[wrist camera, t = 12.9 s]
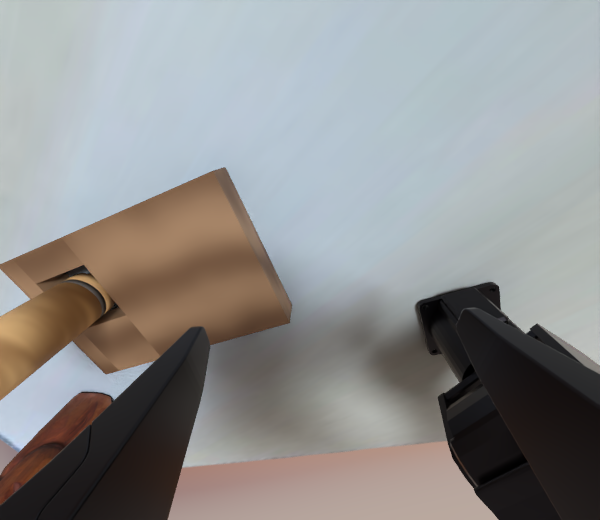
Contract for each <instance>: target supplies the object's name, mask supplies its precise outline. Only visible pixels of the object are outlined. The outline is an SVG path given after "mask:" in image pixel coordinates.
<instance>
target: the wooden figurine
mask: <svg viewBox="0 0 600 520" xmlns="http://www.w3.org/2000/svg"><path fill="white" fill-rule="evenodd" d="M111 403H112V401H111V397H110V396H107V395H104V394H101V393H79V394H78V395H76V396H75V397H74V398H73V399H71V400H70V401H69V402H68V403H67V404H66V405H65V406H64V407H63V408H62V409H61V410H60V411H59V412H58V413H57V414H56V415H55V416H54V417H53V418H52V419H51V420H50V421H49V422H48V423H47V424H46V425H45V426H44V427H43V428H42V429H41V430H40V431H39V432H38V433H37V434H36V435H35V436H34V438H33V439H32V440H31V441H30V442H29V443H28V444H27V445H26V446H25V447H24V448H23V449H22V450H21V451H20V452H19V453H18V454H17V455H16V457H14V458H13V460H12V461H11V462H10V463H9V464H8V465H7V466H6V467H5V468H4V470H3V472H2V473H1V475H0V505H1V504H2V503H3V502H4V501H5V500H7V499H8V498H9V497H10V496H11V495H12V494H13V493H15V492H16V491H17V490H18V489H19V488H20V487H22V486H23V485H24V484H25V483H26V482H27V481H28V480H30V479H31V478H32V477H33V476H34V475H35V474H36V473H37V472H39V471H40V470H41V469H42V468H43V467H44V466H45V465H47V464H48V463H49V462H50V461H51V460H52V459H53V458H54V457H55V456H56V455H57V454H59V453H60V452H61V451H62V450H63V449H64V448H65V447H66V446H67V445H68V444H69V443H70V442H71V441H72V440H74V439H75V438H76V437H77V436H78V435H79V434H80V433H81V432H82V431H83V430H84V429H85V428H86V427H87V426H88V425H90V424H91V425H92V422H93V420H95V419H96V418H97V417H98V416H99V415H100V414H101V413H102V412H103V411H104V410H105V409H106V408H107V407H108V406H109V405H110V404H111Z"/></svg>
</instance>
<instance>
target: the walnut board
mask: <svg viewBox="0 0 600 520" xmlns="http://www.w3.org/2000/svg"><path fill="white" fill-rule="evenodd" d="M82 265H85V267H86V268H87V269H88V270H89V271H90V273H91V274H92V275H93V276H94V277H95V279H96V280H97V281H98V282H99V283H100V285H101V286H102V287H103V288H104V289H105V291H106V292H107V293H108V294H109V295H110V297H111V298H112V299H113V300H114V301H115V303H116V304H117V305H118V306H119V307H118V308H115V309H113V310H110V311H107V312H106V313H105V314H104V315H102V316H101V317H100V318H99V319H98V320H96V321H95V322H94V323H93V324H92V325H90V326H89V327H88V328H87V329H86V330H84V331H83V332H82V333H81V334H80V335H78V336H77V337H76V338H75V339H74V340H72V341H73V342H74V343H75V344H76V345H77V346H78V347H79V348H80V349H81V350H82V351H83V352H84V353H85V354H86V355H87V356H88V357H89V358H90V359H91V360H92V361H93V362H94V363H95V364H96V365H97V366H98V367H99V368H100V369H101V370H102V371H103V372H104V373H105V374H109V373H113V372H116V371H120V370H123V369H127V368H131V367H134V366H138V365H141V364H145V363H148V362H152V361H156V360H157V359H158V358H159V357H160V356H161V355H162V354H163V353H164V352H165V351H166V350H167V349H168V348H169V347H170V346H171V345H173V344H174V343H175V342H176V341H177V340H178V339H179V338H180V337H181V336H182V335H183V334H184V333H185V332H186V331H187V330H188V329H189V328H191V327H196V326H203V327H204V328H205V330H206V333H207V336H208V339H209V341H210V345H213V344H216V343H220V342H223V341H227V340H230V339H234V338H238V337H241V336H245V335H248V334H252V333H255V332H259V331H263V330H266V329H270V328H273V327H277V326H280V325H284V324H288V323H290V317H291V309H292V304H291V302H290V300H289V298H288V296H287V294H286V292H285V290H284V288H283V286H282V283H281V281H280V279H279V277H278V275H277V273H276V271H275V269H274V267H273V265H272V263H271V261H270V259H269V257H268V254H267V252H266V250H265V248H264V246H263V244H262V242H261V240H260V238H259V236H258V234H257V232H256V230H255V228H254V226H253V223H252V221H251V219H250V217H249V215H248V213H247V211H246V209H245V207H244V205H243V203H242V201H241V199H240V197H239V195H238V192H237V190H236V188H235V186H234V184H233V182H232V180H231V178H230V176H229V174H228V172H227V170H226V168H225V167H224V168H221V169H218V170H214V171H212V172H209V173H207V174H205V175H202V176H200V177H198V178H196V179H193V180H191V181H189V182H187V183H184V184H182V185H180V186H177V187H175V188H173V189H171V190H168V191H166V192H164V193H162V194H159V195H157V196H155V197H152V198H150V199H148V200H146V201H143V202H141V203H139V204H137V205H134V206H132V207H130V208H127V209H125V210H123V211H121V212H118V213H116V214H114V215H112V216H109V217H107V218H105V219H102V220H100V221H98V222H96V223H93V224H91V225H89V226H87V227H84V228H82V229H80V230H77V231H75V232H73V233H71V234H68V235H66V236H64V237H62V238H59V239H57V240H55V241H53V242H50V243H48V244H46V245H43V246H41V247H39V248H37V249H34V250H32V251H30V252H28V253H25V254H23V255H21V256H18V257H16V258H14V259H12V260H9V261H7V262H5V263H3V264H0V269H1V270H2V271H3V272H4V273H5V274H6V275H7V276H8V277H9V278H10V279H11V280H12V281H13V282H14V283H15V284H16V285H17V286H18V287H19V288H20V289H21V290H22V291H23V292H24V293H25V294H26V295H27V296H28V297H29V298H30V299H32V298H34V297H36V296H38V295H40V294H41V293H43V292H45V291H47V290H49V289H50V288H52V287H54V286H56V285H57V284H59V283H61V282H63V281H65V280H66V279H68V278H70V277H69V275H68V274H67V273H66V272H67V271H69V270H72V269H74V268H77V267H79V266H82Z"/></svg>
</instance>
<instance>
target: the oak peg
mask: <svg viewBox="0 0 600 520" xmlns="http://www.w3.org/2000/svg"><path fill="white" fill-rule="evenodd" d="M114 303H115V301H114V300H113V299H112V298H111V297H110V295H109V294H108V293H107V292H106V291H105V289H104V288H103V287H102V286H101V285H100V283H99V282H98V281H97V280H96V279H95V277H94V276H93V275H92V274H91V273H89V274H86V273H80V274H75V275H73V276H72V277H70V278H68V279H66V280H65V281H63V282H61V283H59V284H57V285H56V286H54V287H52V288H50V289H49V290H47V291H45V292H43V293H41V294H40V295H38V296H36V297H34V298H32V299H31V300H29V301H27V302H25V303H24V304H22V305H20V306H18V307H16V308H15V309H13V310H11V311H9V312H8V313H6V314H4V315H2V316H0V400H1V399H3V398H4V397H5V396H6V395H7V394H9V393H10V392H11V391H12V390H13V389H15V388H16V387H17V386H18V385H19V384H21V383H22V382H23V381H24V380H25V379H27V378H28V377H29V376H30V375H31V374H33V373H34V372H35V371H36V370H37V369H39V368H40V367H41V366H42V365H43V364H45V363H46V362H47V361H48V360H49V359H51V358H52V357H53V356H54V355H55V354H57V353H58V352H59V351H60V350H62V349H63V348H64V347H65V346H66V345H68V344H69V343H70V342H71V341H72V340H74V339H75V338H76V337H77V336H78V335H80V334H81V333H82V332H83V331H84V330H86V329H87V328H88V327H89V326H90V325H92V324H93V323H94V322H95V321H96V320H98V319H99V318H100V317H101V316H102V315H104V314H105V313H106V312H107V311H108V310H110V309H111V308H112V307H113V305H114Z"/></svg>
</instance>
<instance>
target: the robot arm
mask: <svg viewBox="0 0 600 520" xmlns="http://www.w3.org/2000/svg"><path fill="white" fill-rule="evenodd" d="M492 287H493V288H492ZM491 288H492V289H491ZM424 305H426V306H425V307H423V306H424ZM418 310H419V314H420V318H421V323H422V327H423V331H424V336H425V340H426V344H427V349H428V351H429V353H430V354H431V355H438V354H443V356H444V358H445V359H446V361H447V363H448V364H449V366H450V368H451V369H452V371H453V373H454V374H455V376H456V377H457V379H458V381H459V382H460V383H458V384H457V385H456V386H454V387H453V388H452V389H450V390H449V391H448V392H446V393H442V394H441V395H440V396H438V401H439V405H440V410H441V414H442V418H443V423H444V427H445V432H446V436H447V441H448V445H449V448H450V451H451V454H452V458H453V460H454V461H455V463H456V464H457V465H458V467H459V469H460V471H461V472H462V473H463V475H464V476H465V478H466V479H467V480H468V482H469V483H470V484H471V485H472V486H473V488H474V491H475V493H476V495H477V496H478V497H479V498H480V499H481V500H482V501H483V503H484V504H485V505H486V506H487V507H488V508H489V509H490V510H491V511H492V512H493V513H494V514H495V516H496V517H497V518H498V519H499V520H600V366H599V365H598V364H597V363H595V362H594V361H593V360H591V359H590V358H589V357H587V356H586V355H585V354H583V353H582V352H580V351H579V350H577V349H576V348H574V347H573V346H571V345H570V344H568V343H567V342H565V341H563V340H562V339H560V338H559V337H557V336H556V335H554V334H553V333H551V332H550V331H548V330H547V329H545V328H543V327H542V326H540V325H539V324H536V325H534V326H533V327H532V328H530V330H531V331H529V332H528V333H526V334H525V333H524V332H523V331H522V330H521V329H520V328H519V327H517V326H516V325H515V324H514V323H513V322H512V321H511V320H510V319H509V318H508V316H506V315H505V314H504V313H503V312H502V311H501V307H500V291H499V286H498V285H496V284H495V283H493V282H489V283H485V284H482V285H478V286H474V287H471V288H467V289H463V290H459V291H456V292H452V293H448V294H445V295H441V296H437V297H433V298H430V299H426V300H422V301H420V302H419V303H418ZM434 349H435V350H434ZM209 351H210V341H209V339H208V336H207V333H206V330H205V328H204V327H203V326H196V327H191V328H189V329H188V330H187V331H186V332H185V333H184V334H183V335H182V336H181V337H180V338H179V339H178V340H177V341H176V342H175V343H174V344H173V345H171V346H170V347H169V348H168V349H167V350H166V351H165V352H164V353H163V354H162V355H161V356H160V357H159V358H158V359H157V360H156V361H155V362H154V363H153V364H152V365H151V366H150V367H149V368H148V369H147V370H145V371H144V372H143V373H142V374H141V375H140V376H139V377H138V378H137V379H136V380H135V381H134V382H133V383H132V384H131V385H130V386H129V387H128V388H127V389H126V390H125V391H124V392H123V393H122V394H121V395H119V396H118V397H117V398H116V399H115V400H114V401H113V402H112V403H111V404H110V405H109V406H108V407H107V408H106V409H105V410H104V411H103V412H102V413H101V414H100V415H99V416H98V417H97V418H96V419H95V420H93V422H92V425H91V424H90V425H88V426H87V427H86V428H85V429H84V430H83V431H82V432H81V433H80V434H79V435H78V436H77V437H76V438H75V439H74V440H72V441H71V442H70V443H69V444H68V445H67V446H66V447H65V448H64V449H63V450H62V451H61V452H60V453H59V454H57V455H56V456H55V457H54V458H53V459H52V460H51V461H50V462H49V463H48V464H47V465H45V466H44V467H43V468H42V469H41V470H40V471H39V472H37V473H36V474H35V475H34V476H33V477H32V478H31V479H30V480H28V481H27V482H26V483H25V484H24V485H23V486H22V487H20V488H19V489H18V490H17V491H16V492H15V493H13V494H12V495H11V496H10V497H9V498H8V499H7V500H5V501H4V502H3V503H2V504H1V505H0V520H167V519H168V516H169V512H170V508H171V505H172V501H173V498H174V494H175V490H176V487H177V483H178V480H179V476H180V472H181V469H182V465H183V462H184V458H185V455H186V451H187V447H188V444H189V440H190V436H191V433H192V429H193V426H194V422H195V418H196V415H197V411H198V408H199V404H200V400H201V396H202V392H203V387H204V381H205V375H206V369H207V363H208V357H209Z"/></svg>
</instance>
